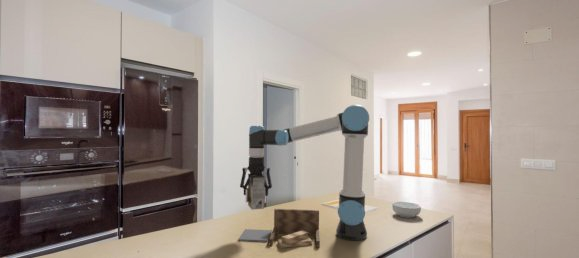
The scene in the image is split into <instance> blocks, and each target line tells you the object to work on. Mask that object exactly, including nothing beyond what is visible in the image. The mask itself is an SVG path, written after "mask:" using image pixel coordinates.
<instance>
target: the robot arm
mask: <svg viewBox="0 0 579 258" xmlns="http://www.w3.org/2000/svg"><path fill="white" fill-rule="evenodd" d="M369 122H370V114H369V111H368V110H367V109H366V108H365V106H362V105H360V104H352V105H349V106H347V107H346V108H345V109H344V110H343V112H340V113H337V114H336V116H333V117H328V118H323V119H319V120H315V121H312V122H308V123H303V124H300V125H297V126H292V127H289V128H284V129H265V126H263V125H250V127H249V130H248V131H249V132H248V139H249V140H248V142H249V143H248V156H249V157H248V166H247V167H245V166H244V167H242V175H241V178H240V184H239V187H240V188H242V189H243V195H244V196H245V203H248V184H249V181H250V175H259V176H262V175H263V176H264V173H263V172H264V171H265V173H266V178H267V181H266V179H265V177H264V204H266V203H267V197H268V195H269V189H271V188H272V187H273V184H272V179H271V174H270V172H271V167H265V157H264V156H265V146H279V147H280V146H287V145H288V143H294V142H297V141H301V140H307V139H310V138H313V137H314V138H315V137H319V136H323V135H327V134H331V133H335V132H341V134H342V136H343V138H344V154H343V156H344V157H343V177H342V178H343V179H342V180H343V181H342V189H341V190H340V191H339V194H338V195H339V196H338V207H337V215H338V217H339V221H338V224H337V227H336V233H335V234H336V236H337V237H339V238H341V239H343V240H346V241H362V240H365V239H367V237H368V231H367V228H366V225H365V221H364V219H365V217H366V216H365V215H366V209H365V208H366V207H365V206H366V203H365V202H366V194H365V192H364V191H363V175H364V174H363V171H364V155H365V154H364V152H365V151H364V150H365V149H364V148H365V138H367V137H368V135H369V134H368V133H369ZM247 172H249V174H250V175H249V177H248V176H247V179H246V175H247Z"/></svg>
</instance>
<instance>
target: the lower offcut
mask: <svg viewBox="0 0 579 258" xmlns="http://www.w3.org/2000/svg"><path fill="white" fill-rule="evenodd" d="M312 244H313V241H312V239H311V238H310V237H309V236H308V238H306V239H303V240H300V241H297V242H294V243H291V244H288V245H287V244H284V243H282V238H280V239H278V240H277V245H278V247H279V248H281V249H282V248H291V247H302V246H303V247H304V246H305V247H306V246H312Z"/></svg>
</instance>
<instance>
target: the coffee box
mask: <svg viewBox="0 0 579 258" xmlns="http://www.w3.org/2000/svg"><path fill="white" fill-rule="evenodd" d="M247 174H248V176H247V178H248V177H249V175H250V173H247ZM264 178H265V176H264V174H263V175H262V176H259V175H250V181H249V184H248V186H247V188H248V202H247V206H248V207H249V208H250V210H251V211H254V210H264V209H265V203H264V189H265V187H264Z"/></svg>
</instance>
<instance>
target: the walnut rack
mask: <svg viewBox="0 0 579 258" xmlns="http://www.w3.org/2000/svg"><path fill="white" fill-rule="evenodd" d="M273 209H274V210H273V211H274V213H273V229H272V232H271V234H270V237H269V239H268V246H270V247H271V246H272V247H273V245H274V243H275V240H276V236H277V234H292V233H296V232H299V231H305V232H308V235H315V247H316V249H317V248H318V249H319V248H321V247H320V246H321V245H320V244H321V243H320V242H321V240H320V238H321V237H320V210H318V209H297V208H296V209H294V208H293V209H292V208H288V209H287V208H273Z"/></svg>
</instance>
